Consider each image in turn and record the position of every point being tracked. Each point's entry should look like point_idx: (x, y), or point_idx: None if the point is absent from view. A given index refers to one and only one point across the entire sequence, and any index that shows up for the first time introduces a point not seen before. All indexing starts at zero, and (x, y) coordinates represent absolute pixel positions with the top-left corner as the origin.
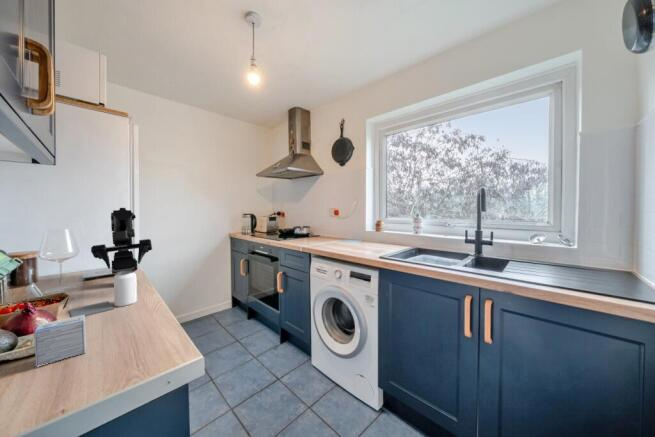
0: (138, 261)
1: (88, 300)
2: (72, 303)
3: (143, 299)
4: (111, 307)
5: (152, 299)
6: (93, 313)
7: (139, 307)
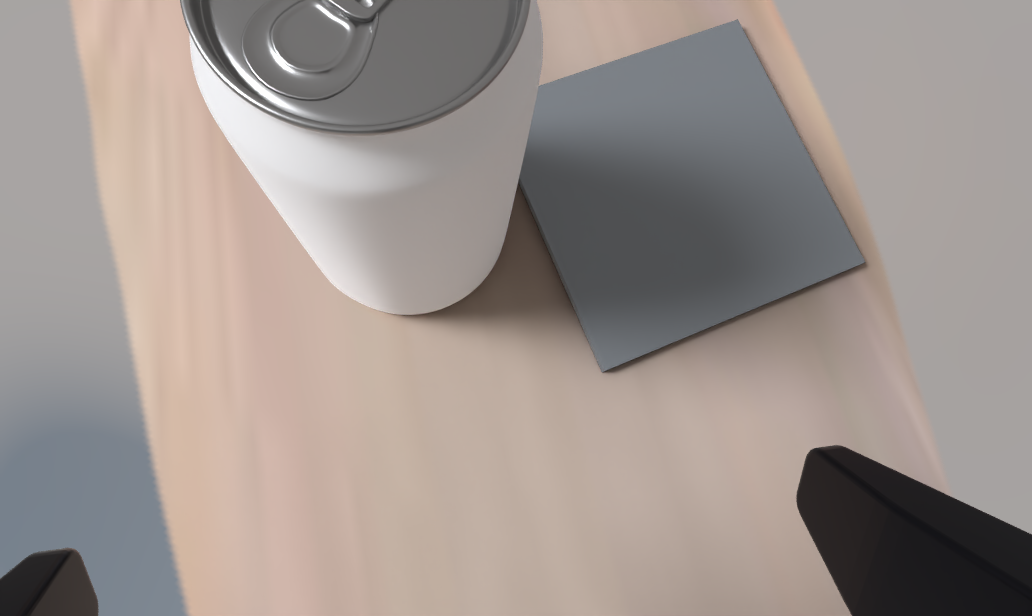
0: (33, 579)
1: None
2: None
3: (253, 275)
4: None
5: (158, 223)
6: (619, 59)
7: None
